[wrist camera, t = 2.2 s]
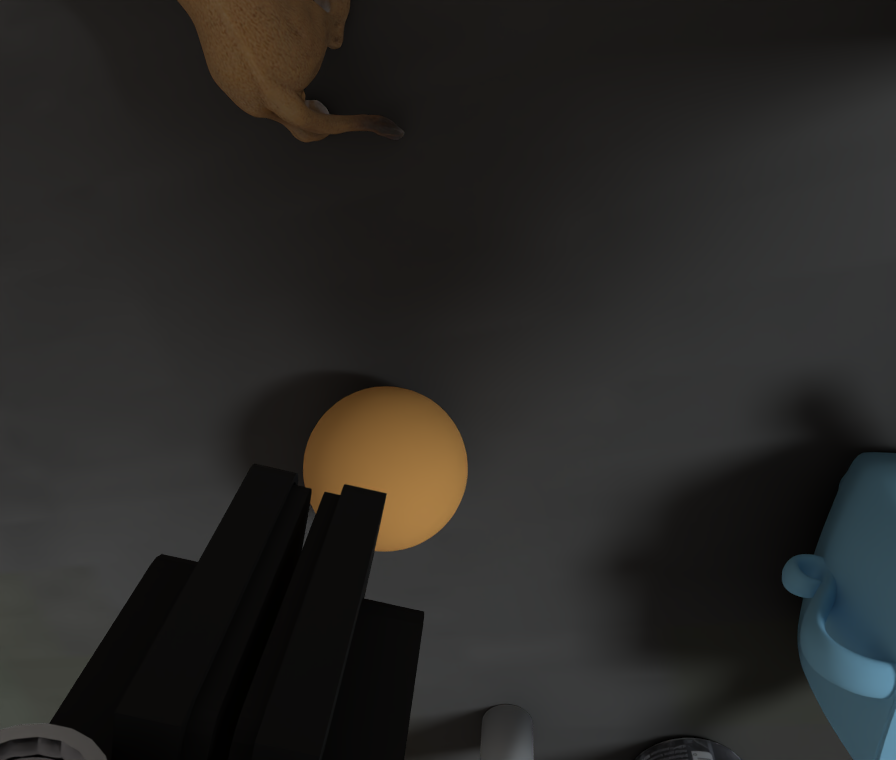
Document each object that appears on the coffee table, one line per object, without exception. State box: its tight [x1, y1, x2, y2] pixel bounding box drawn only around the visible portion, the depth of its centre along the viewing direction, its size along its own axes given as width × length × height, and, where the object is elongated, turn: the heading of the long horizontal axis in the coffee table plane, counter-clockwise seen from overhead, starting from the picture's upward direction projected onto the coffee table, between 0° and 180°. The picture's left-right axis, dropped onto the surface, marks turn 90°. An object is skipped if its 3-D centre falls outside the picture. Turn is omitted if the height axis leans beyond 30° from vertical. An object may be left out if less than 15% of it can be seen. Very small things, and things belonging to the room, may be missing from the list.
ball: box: [303, 386, 468, 551], centre depth 31 cm, size 6×6×6 cm
